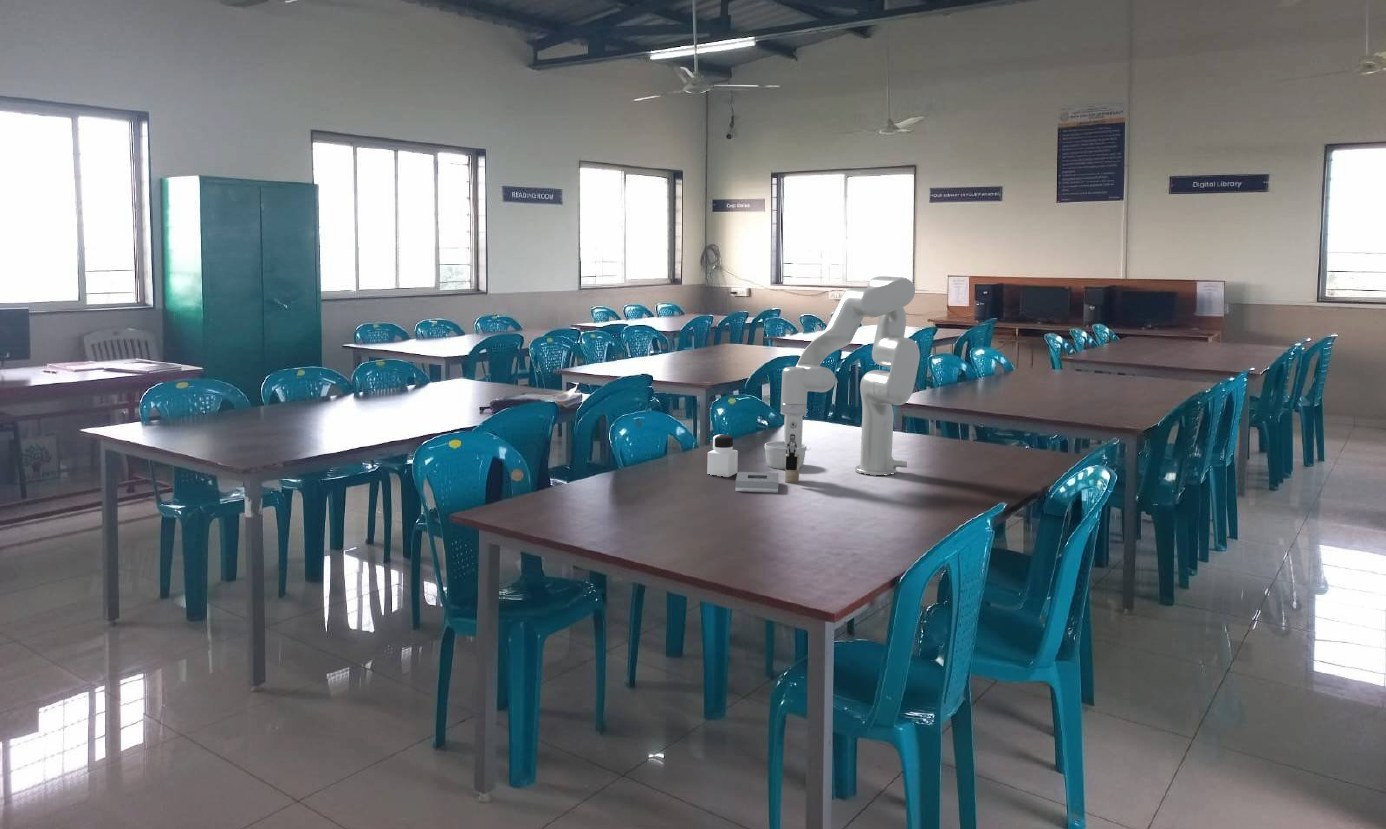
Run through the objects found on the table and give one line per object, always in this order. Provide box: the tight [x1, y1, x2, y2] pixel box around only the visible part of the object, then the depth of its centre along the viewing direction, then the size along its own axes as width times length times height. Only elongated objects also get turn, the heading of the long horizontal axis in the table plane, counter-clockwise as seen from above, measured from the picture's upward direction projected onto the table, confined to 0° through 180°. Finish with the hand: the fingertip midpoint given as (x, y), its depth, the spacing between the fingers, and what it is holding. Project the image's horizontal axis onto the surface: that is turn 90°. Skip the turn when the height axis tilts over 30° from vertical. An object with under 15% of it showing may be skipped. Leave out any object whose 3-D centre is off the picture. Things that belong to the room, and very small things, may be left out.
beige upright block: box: [784, 454, 800, 484], centre depth 304 cm, size 4×3×8 cm
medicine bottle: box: [706, 433, 739, 478], centre depth 313 cm, size 7×7×12 cm
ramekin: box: [763, 440, 807, 470], centre depth 326 cm, size 13×13×7 cm
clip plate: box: [735, 471, 779, 493], centre depth 297 cm, size 12×12×3 cm
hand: (791, 466), depth 304 cm, fingers open, 9 cm apart
